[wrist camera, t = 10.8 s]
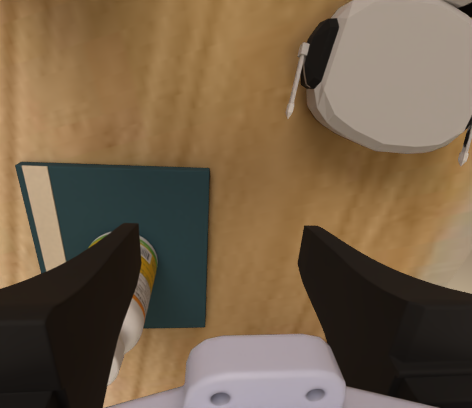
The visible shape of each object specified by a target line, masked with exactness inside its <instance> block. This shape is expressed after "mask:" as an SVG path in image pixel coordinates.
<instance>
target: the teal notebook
mask: <svg viewBox="0 0 472 408" xmlns="http://www.w3.org/2000/svg"><path fill="white" fill-rule="evenodd" d="M15 167H16V171H17V175H18V179H19V183H20V187H21V192H22V196H23V200H24V204H25V208H26V212H27V216H28V220H29V225H30V229H31V233H32V237H33V241H34V245H35V249H36V253H37V258H38V262H39V266H40V270H41V274H42V273H44V272H46V271H49V270H51V269H53V268H55V267H57V266H59V265H61V264H63V263H65V262H67V261H68V260H70V259H72V258H74V257H75V256H77V255H79V254H80V253H82V252H83V251H85V250H86V249H88V247H89V246H90V245H91V243H92V242H93V241H94V240H95V239H96V238H98V237H99V236H101V235H103V234H105V233H108V232H112V231H113V230H114V229H116V228H117V227H119V226H120V225H121V224H123V223H139V236H141V237H143V238H144V239H146V240H147V241H148V242H149V243H150V244H151V245H152V247H153V248H154V250H155V252H156V255H157V260H158V264H157V270H156V275H155V279H154V283H153V288H152V292H151V296H150V300H149V305H148V309H147V313H146V318H145V323H144V327H143V328H197V327H205V317H206V283H207V248H208V213H209V179H210V169H209V168H191V167H160V166H130V165H100V164H69V163H39V162H20V163H18V164H17V165H15Z"/></svg>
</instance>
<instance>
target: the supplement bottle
mask: <svg viewBox="0 0 472 408" xmlns="http://www.w3.org/2000/svg"><path fill="white" fill-rule="evenodd" d="M109 233H111V232H108V233H105V234H103V235H101V236H99V237H98V238H96V239H95V240H94V241H93V242H92V243H91V245H90V246H89V247H91V246H92V245H94V244H95V243H97V242H98V241H100V240H101V239H102V238H104V237H105V236H106V235H108V234H109ZM89 247H88V248H89ZM140 249H141V261H142V264H141V269H140V274H139V279H138V283H137V286H136V289H135V292H134V295H133V298H132V300H131V303H130V306H129V308H128V311H127V314H126V317H125V319H124V322H123V325H122V328H121V331H120V334H119V337H118V341H117V345H116V350H115V354H114V358H113V362H112V366H111V371H110V375H109V380H108V384H107V386H108V385H110V384H111V383H112V382H113V381H114V380H115V379H116V377H117V375H118V373H119V370H120V367H121V364H122V361H123V358H124V354H126V353H127V352H129V351H130V350H131V349H132V348H133V347H134V346H135V345H136V343H137V342H138V340H139V339H140V336H141V334H142V331H143V327H144V323H145V318H146V313H147V309H148V305H149V300H150V296H151V292H152V288H153V283H154V279H155V275H156V270H157V264H158V260H157V255H156V252H155V250H154V248H153V247H152V245H151V244H150V243H149V242H148V241H147V240H146V239H144V238H143V237H141V236H140Z"/></svg>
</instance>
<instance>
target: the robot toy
mask: <svg viewBox="0 0 472 408" xmlns="http://www.w3.org/2000/svg"><path fill="white" fill-rule="evenodd" d="M470 17H472V0H353V1H351V2H349V3H347V4H345V5H344V6H342V7H340V8H339V9H338V10H337V11H336V12H335V14H334V15H333V16H332V17H331V19H327V20H325V21H323V22H321V23H319V25H318V26H317V27H316V29H315V30H314V31H313V33H312V34H311V35H310V37H309V38H308V41H307V43H305V42H303V43H302V44H301V45H300V48H299V52H298V57H299V62H298V66H297V70H296V75H295V79H294V83H293V88H292V92H291V96H290V101H289V104H288V105H287V109H286V116H287V119H288V118H289V117H290V115H291V114H292V112H293V108H294V100H295V95H296V91H297V87H298V82H299V78H301V85H302V86H303V87H305V88H306V94H307V107H308V108H309V109H310V111H311V112H312V114H313V115H314V117H315V118H316V119H317V120H318V121H319V122H320V123H321V124H322V125H324V126H325V127H327V128H328V129H330V130H331V131H333V132H334V133H336V134H338V135H340V136H342V137H344V138H347V139H349V140H351V141H353V142H355V143H357V144H359V145H361V146H364V147H367V148H369V149H372V150H374V151H382V152H394V153H405V154H410V153H425V152H431V151H434V150H436V149H439V148H441V147H444V146H446V145H448V144H449V143H450V142H452V141H453V140H454V139H455V138H456V137H458V136H459V135H460V134H461V133H462V132H464V131H465V130H466V129H467V128H468V130H467V133H466V137H465V141H464V144H463V148H462V152H461V153H460V154H459V158H458V162H459V164H460V166H462V165H463V164H464V163H465V162H466V161H467V158H468V154H469V153H468V150H469V146H470V142H471V139H472V19H471V18H470Z"/></svg>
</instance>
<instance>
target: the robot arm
mask: <svg viewBox="0 0 472 408" xmlns="http://www.w3.org/2000/svg"><path fill="white" fill-rule="evenodd" d="M141 264H142V261H141V249H140V236H139V223H123V224H121V225H120V226H119V227H117V228H116V229H114V230H113V231H112V232H111V233H109V234H108V235H106V236H105V237H104V238H102V239H101V240H100V241H98V242H97V243H95V244H94V245H92V246H91V247H89V248H88V249H86V250H85V251H83V252H82V253H80V254H79V255H77V256H75V257H74V258H72V259H70V260H68V261H67V262H65V263H63V264H61V265H59V266H57V267H55V268H53V269H51V270H49V271H46V272H44V273H42V274H39V275H37V276H35V277H32V278H30V279H28V280H25V281H22V282H20V283H17V284H14V285H11V286H8V287H5V288H2V289H0V408H103V403H104V399H105V394H106V389H107V384H108V380H109V375H110V371H111V366H112V362H113V358H114V354H115V350H116V345H117V341H118V337H119V334H120V331H121V328H122V325H123V322H124V319H125V317H126V314H127V311H128V308H129V306H130V303H131V300H132V298H133V295H134V292H135V289H136V286H137V283H138V279H139V274H140V269H141ZM298 267H299V271H300V275H301V278H302V282H303V284H304V287H305V289H306V291H307V294H308V296H309V298H310V301H311V303H312V305H313V307H314V310H315V312H316V314H317V316H318V319H319V321H320V323H321V326H322V328H323V331H324V333H325V336H326V340H327V343H328V344H327V343H326V342H325V341H324V340H322V339H321V338H320V337H316V336H311V335H305V334H270V335H224V336H219V337H214V338H209V339H206V340H204V341H203V342H201V343H200V344H199V345H197V346H196V347H194V348H193V349H192V350H191V352H190V354H189V357H188V359H187V362H186V374H185V384H184V385H183V386H181V387H178V388H174V389H170V390H167V391H163V392H160V393H156V394H152V395H149V396H145V397H142V398H138V399H134V400H131V401H127V402H124V403H120V404H116V405H113V406H109V407H105V408H472V294H470V293H465V292H461V291H457V290H453V289H449V288H445V287H442V286H438V285H435V284H432V283H429V282H426V281H423V280H420V279H417V278H414V277H412V276H409V275H406V274H404V273H401V272H399V271H396V270H394V269H392V268H390V267H388V266H385V265H383V264H381V263H379V262H377V261H375V260H373V259H371V258H370V257H368V256H366V255H364V254H362V253H361V252H359V251H357V250H356V249H354V248H352V247H351V246H349V245H348V244H346V243H345V242H343V241H341V240H340V239H338V238H337V237H335V236H334V235H332V234H331V233H329V232H328V231H326V230H324V229H323V228H321V227H319V226H304V230H303V236H302V242H301V247H300V253H299V259H298Z"/></svg>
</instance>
